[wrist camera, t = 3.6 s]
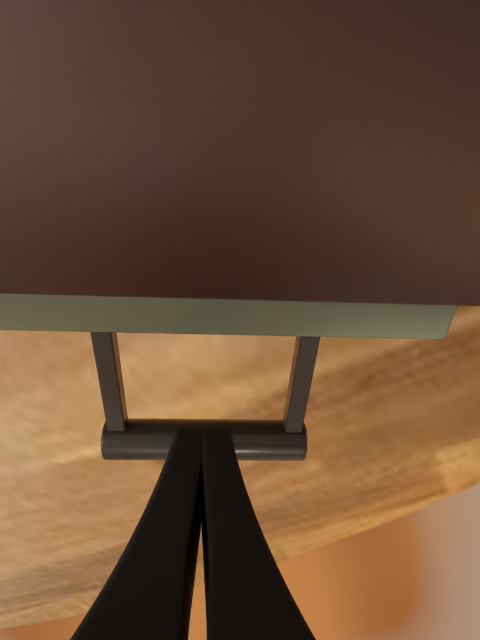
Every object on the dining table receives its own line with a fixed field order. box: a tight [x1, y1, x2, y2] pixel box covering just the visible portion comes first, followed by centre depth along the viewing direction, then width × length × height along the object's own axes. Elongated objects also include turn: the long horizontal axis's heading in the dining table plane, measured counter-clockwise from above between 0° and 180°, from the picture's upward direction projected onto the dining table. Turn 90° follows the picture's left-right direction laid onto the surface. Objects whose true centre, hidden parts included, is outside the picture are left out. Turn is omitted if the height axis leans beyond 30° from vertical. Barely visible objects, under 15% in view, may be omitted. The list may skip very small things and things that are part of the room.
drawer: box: [0, 294, 457, 461], centre depth 12 cm, size 19×13×6 cm
